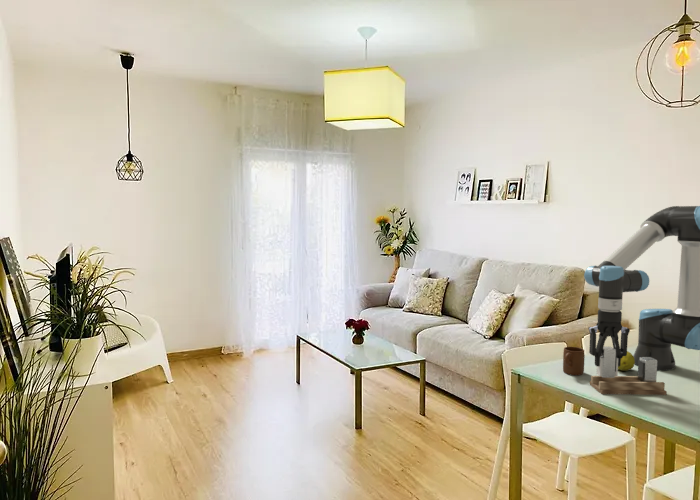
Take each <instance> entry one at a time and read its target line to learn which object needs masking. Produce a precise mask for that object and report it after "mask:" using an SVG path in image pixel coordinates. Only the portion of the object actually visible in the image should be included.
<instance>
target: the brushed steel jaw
mask: <svg viewBox="0 0 700 500" xmlns="http://www.w3.org/2000/svg"><path fill="white" fill-rule="evenodd" d="M601 357H602V358H603V367H602V377H603V378H615V372H616V361H617V352H616V349H614V348H613V346H604V347H603V350H602V354H601Z"/></svg>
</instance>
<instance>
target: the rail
mask: <svg viewBox="0 0 700 500" xmlns="http://www.w3.org/2000/svg"><path fill="white" fill-rule="evenodd" d="M590 379H591V380H589V384H590V386H591V387H592V388H593V389H594V390H596V391H597V392H598V393H600V395H631V396H632V395H633V396H634V395H643V396H644V395H647V396H649V395H651V396H652V395H653V396H656V395H657V396H658V395H659V396H667V393H668V392H667V390H665V389H666V388H665V385H666V384H665V383H666V382H664V381H656V382H639V380H638V375H635V376H634V375H618V376H615V378H603V377H602V376H599V375H591V376H590Z"/></svg>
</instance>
